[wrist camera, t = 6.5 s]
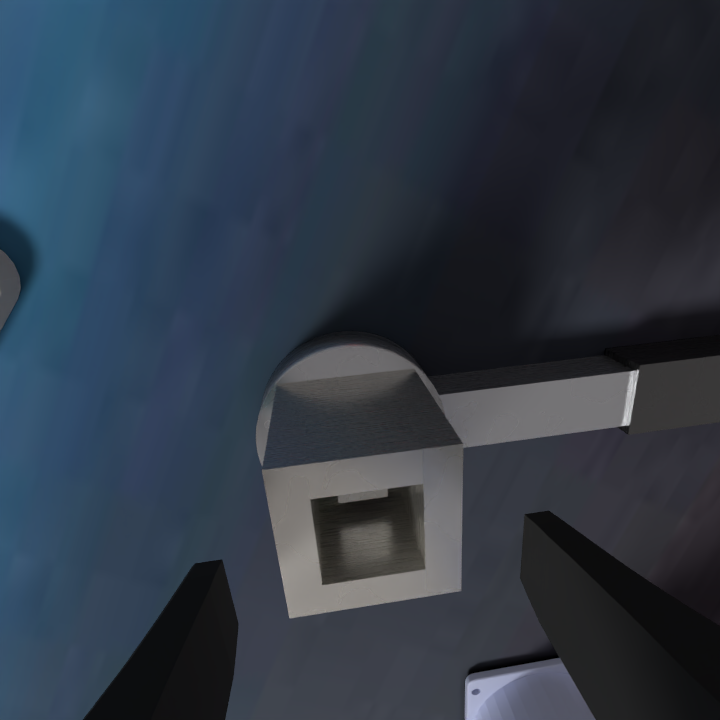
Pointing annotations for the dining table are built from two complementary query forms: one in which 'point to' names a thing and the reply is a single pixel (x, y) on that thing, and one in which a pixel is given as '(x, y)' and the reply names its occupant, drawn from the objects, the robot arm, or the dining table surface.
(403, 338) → the dining table surface
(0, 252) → the adjustable wrench
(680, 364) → the ratchet
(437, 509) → the socket
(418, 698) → the dining table surface
